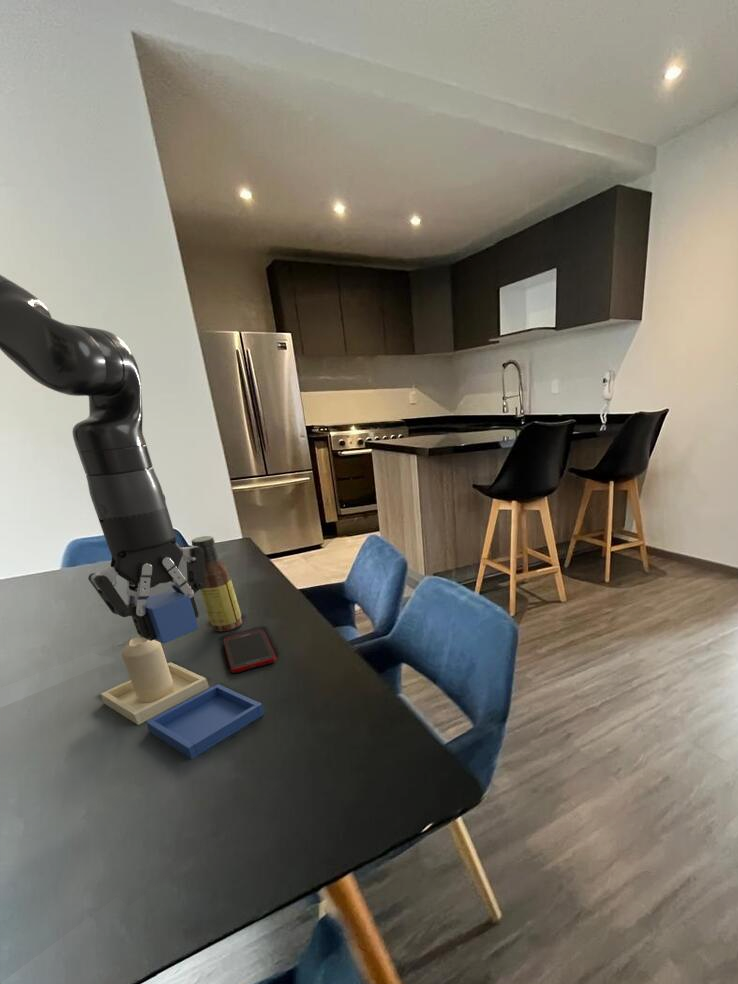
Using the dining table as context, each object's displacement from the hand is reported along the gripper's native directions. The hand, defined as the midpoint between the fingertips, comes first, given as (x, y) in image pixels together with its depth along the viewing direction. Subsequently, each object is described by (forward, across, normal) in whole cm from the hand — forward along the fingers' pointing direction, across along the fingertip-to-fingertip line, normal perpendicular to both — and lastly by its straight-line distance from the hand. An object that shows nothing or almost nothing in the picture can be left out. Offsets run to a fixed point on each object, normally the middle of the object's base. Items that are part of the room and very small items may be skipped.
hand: (171, 629), depth 68 cm
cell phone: (+16, -18, -13) cm, 27 cm away
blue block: (0, 0, 0) cm, 0 cm away
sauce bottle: (+16, -23, -28) cm, 39 cm away
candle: (+15, -1, -14) cm, 21 cm away
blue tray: (+16, -1, +1) cm, 16 cm away
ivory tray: (+16, -1, -14) cm, 21 cm away
